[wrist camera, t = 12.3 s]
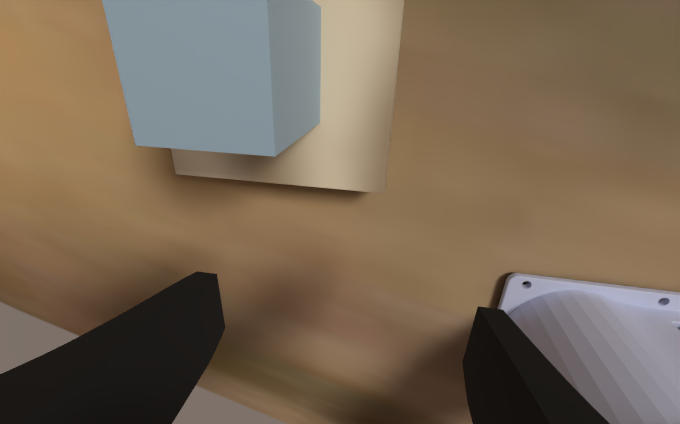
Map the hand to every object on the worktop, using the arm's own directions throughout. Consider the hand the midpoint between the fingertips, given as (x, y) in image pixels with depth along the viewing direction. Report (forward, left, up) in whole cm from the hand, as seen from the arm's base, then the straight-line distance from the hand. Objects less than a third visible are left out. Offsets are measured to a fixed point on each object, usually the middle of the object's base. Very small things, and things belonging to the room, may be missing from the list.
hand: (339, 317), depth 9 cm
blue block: (+5, -6, -8) cm, 11 cm away
